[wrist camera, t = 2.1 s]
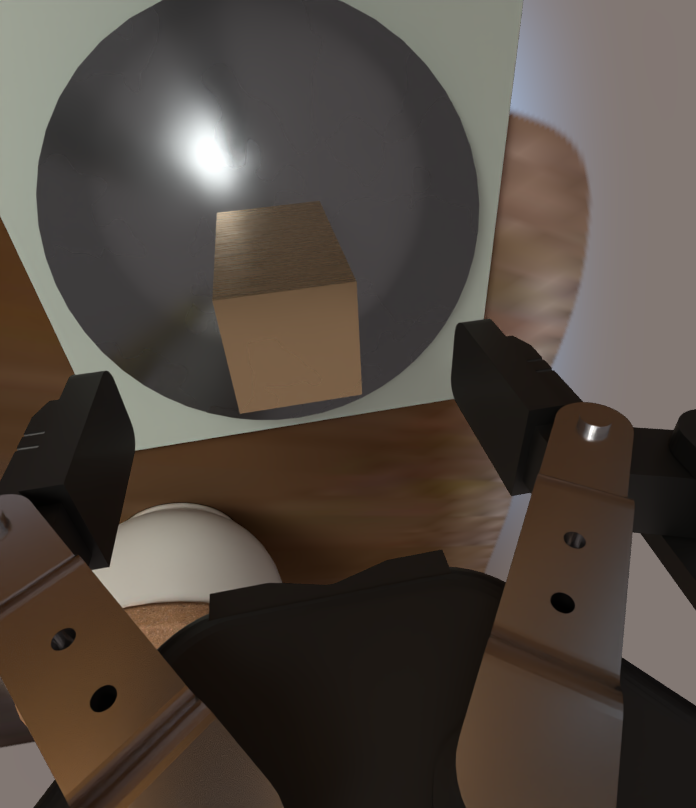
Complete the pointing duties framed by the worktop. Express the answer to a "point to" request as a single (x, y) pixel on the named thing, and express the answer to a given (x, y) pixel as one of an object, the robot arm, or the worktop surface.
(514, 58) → the mat
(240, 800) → the robot arm
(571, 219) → the worktop surface
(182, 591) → the lidded jar
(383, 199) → the lid
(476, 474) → the worktop surface
